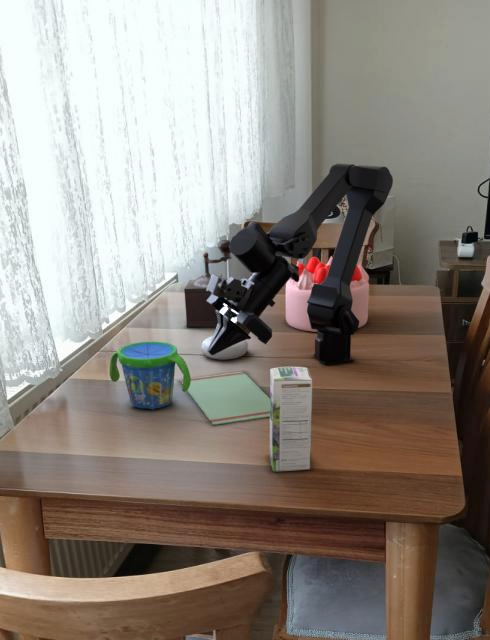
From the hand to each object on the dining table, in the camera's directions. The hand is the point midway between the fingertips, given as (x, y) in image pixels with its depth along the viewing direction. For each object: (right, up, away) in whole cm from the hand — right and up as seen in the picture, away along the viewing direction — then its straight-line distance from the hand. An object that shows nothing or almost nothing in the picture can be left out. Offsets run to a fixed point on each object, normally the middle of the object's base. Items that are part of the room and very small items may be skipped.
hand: (209, 353), depth 143 cm
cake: (+26, +15, +45) cm, 54 cm away
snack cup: (-11, -9, 0) cm, 14 cm away
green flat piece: (+4, -8, +2) cm, 9 cm away
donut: (+2, +4, +24) cm, 25 cm away
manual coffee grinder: (-2, +16, +49) cm, 52 cm away
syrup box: (+14, -21, -24) cm, 35 cm away
